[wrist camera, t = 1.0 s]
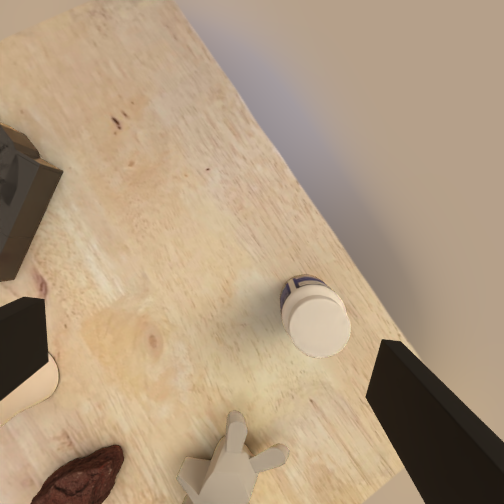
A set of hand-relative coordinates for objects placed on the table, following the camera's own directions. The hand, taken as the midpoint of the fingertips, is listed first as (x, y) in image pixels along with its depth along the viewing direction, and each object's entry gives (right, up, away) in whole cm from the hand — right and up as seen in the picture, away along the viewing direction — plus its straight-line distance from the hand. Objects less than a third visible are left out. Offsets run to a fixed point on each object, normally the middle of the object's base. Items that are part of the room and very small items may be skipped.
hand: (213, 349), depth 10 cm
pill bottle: (+8, -2, +19) cm, 21 cm away
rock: (-20, -25, +23) cm, 39 cm away
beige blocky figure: (-1, -22, +21) cm, 30 cm away
